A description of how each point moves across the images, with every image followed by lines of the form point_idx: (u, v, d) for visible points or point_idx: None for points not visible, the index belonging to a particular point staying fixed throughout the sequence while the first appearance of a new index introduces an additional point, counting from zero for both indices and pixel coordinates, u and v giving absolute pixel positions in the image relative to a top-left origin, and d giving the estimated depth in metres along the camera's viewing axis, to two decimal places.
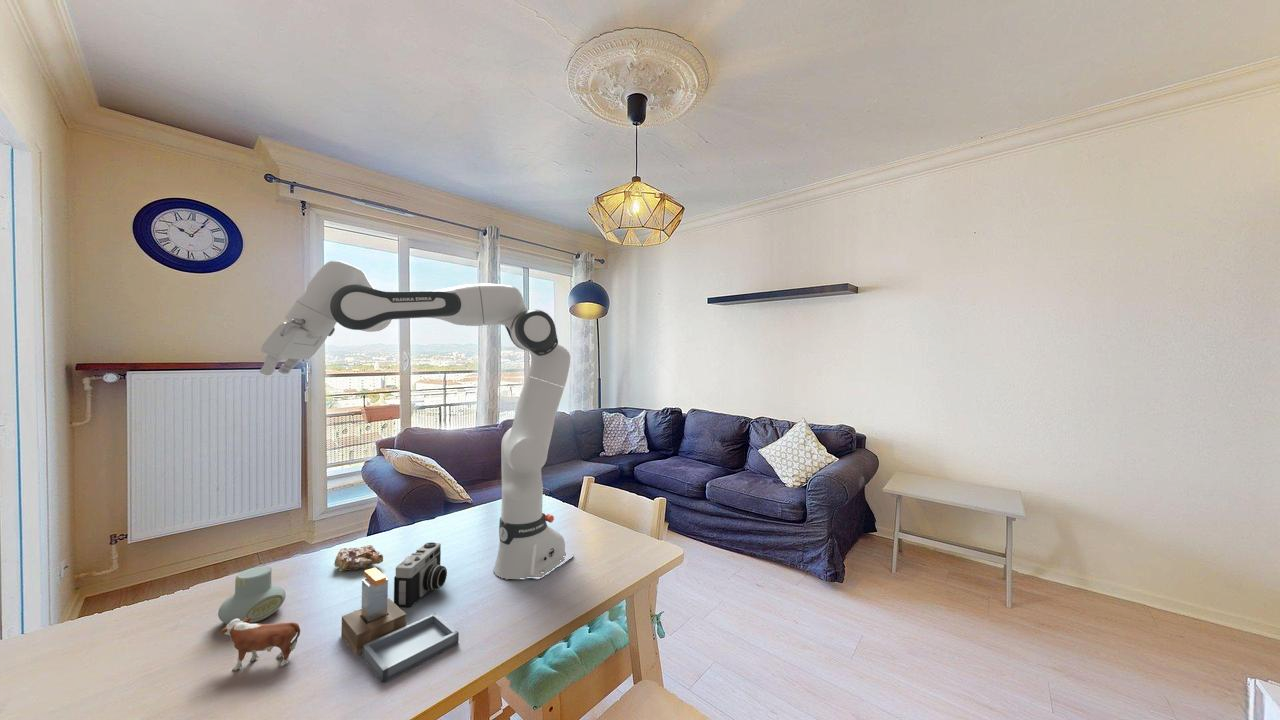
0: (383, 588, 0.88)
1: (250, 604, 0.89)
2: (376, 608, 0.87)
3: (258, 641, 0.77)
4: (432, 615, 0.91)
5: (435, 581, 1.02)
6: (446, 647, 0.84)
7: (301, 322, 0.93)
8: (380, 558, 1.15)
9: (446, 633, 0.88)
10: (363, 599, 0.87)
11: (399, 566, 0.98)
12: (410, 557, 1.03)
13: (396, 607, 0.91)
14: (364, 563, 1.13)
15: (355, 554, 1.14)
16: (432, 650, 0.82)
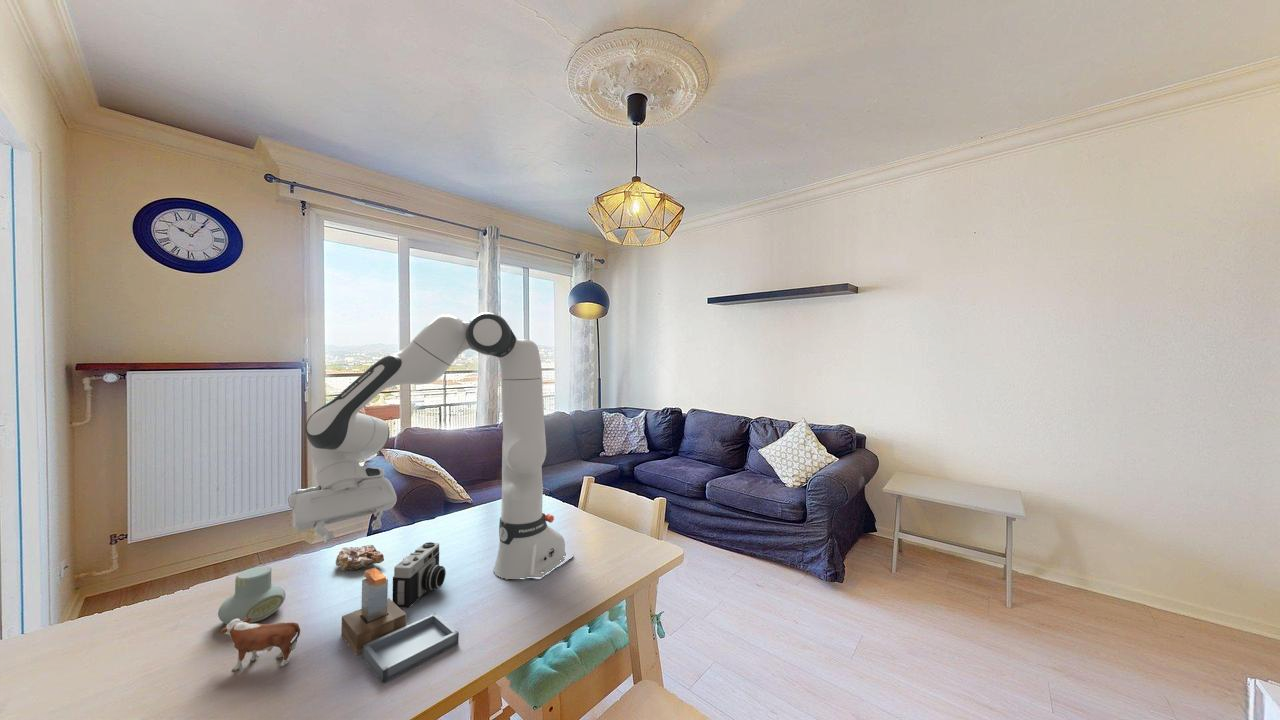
0: (383, 588, 0.88)
1: (250, 604, 0.89)
2: (376, 608, 0.87)
3: (258, 641, 0.77)
4: (432, 615, 0.91)
5: (434, 581, 1.02)
6: (446, 647, 0.84)
7: (311, 488, 0.97)
8: (381, 558, 1.15)
9: (446, 633, 0.88)
10: (363, 599, 0.87)
11: (398, 566, 0.98)
12: (409, 557, 1.03)
13: (396, 607, 0.91)
14: (365, 562, 1.13)
15: (356, 553, 1.14)
16: (432, 650, 0.82)
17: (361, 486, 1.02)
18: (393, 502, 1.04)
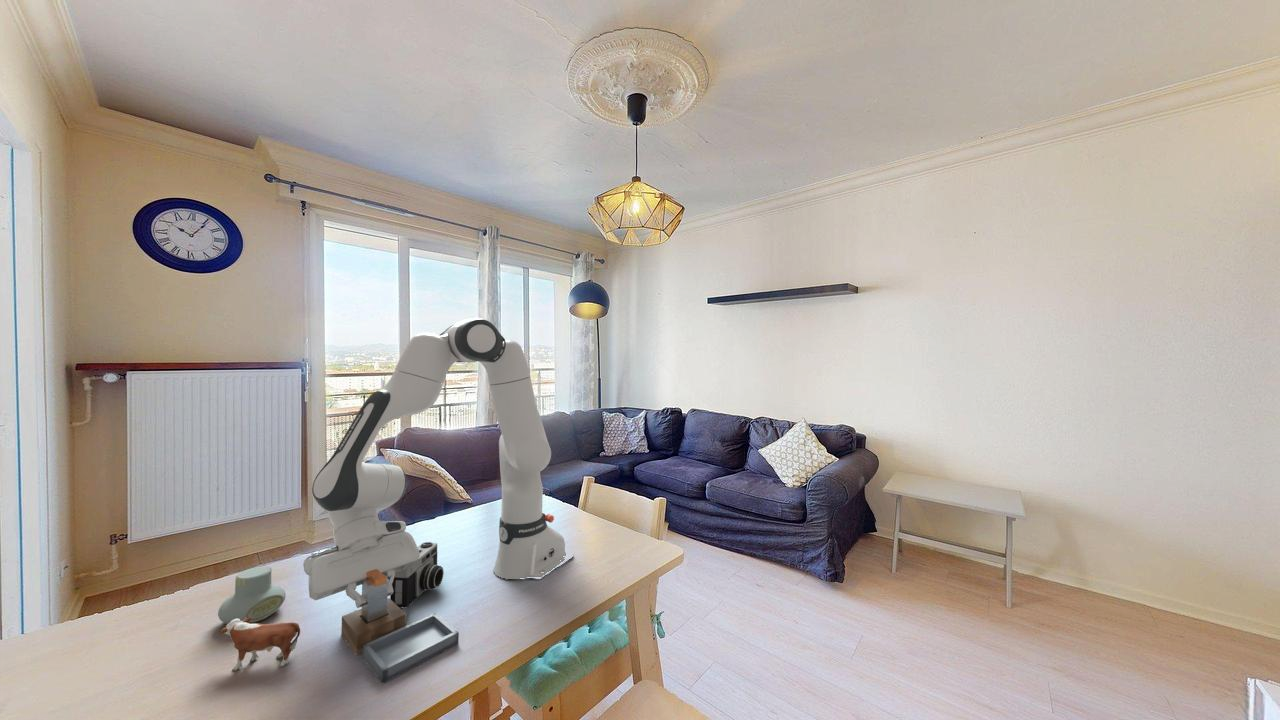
0: (383, 588, 0.88)
1: (250, 604, 0.89)
2: (376, 608, 0.87)
3: (258, 641, 0.77)
4: (432, 615, 0.91)
5: (431, 581, 1.02)
6: (446, 647, 0.84)
7: (328, 550, 0.89)
8: None
9: (446, 633, 0.88)
10: None
11: None
12: None
13: (396, 607, 0.91)
14: None
15: None
16: (432, 650, 0.82)
17: (381, 543, 0.94)
18: (416, 559, 0.96)
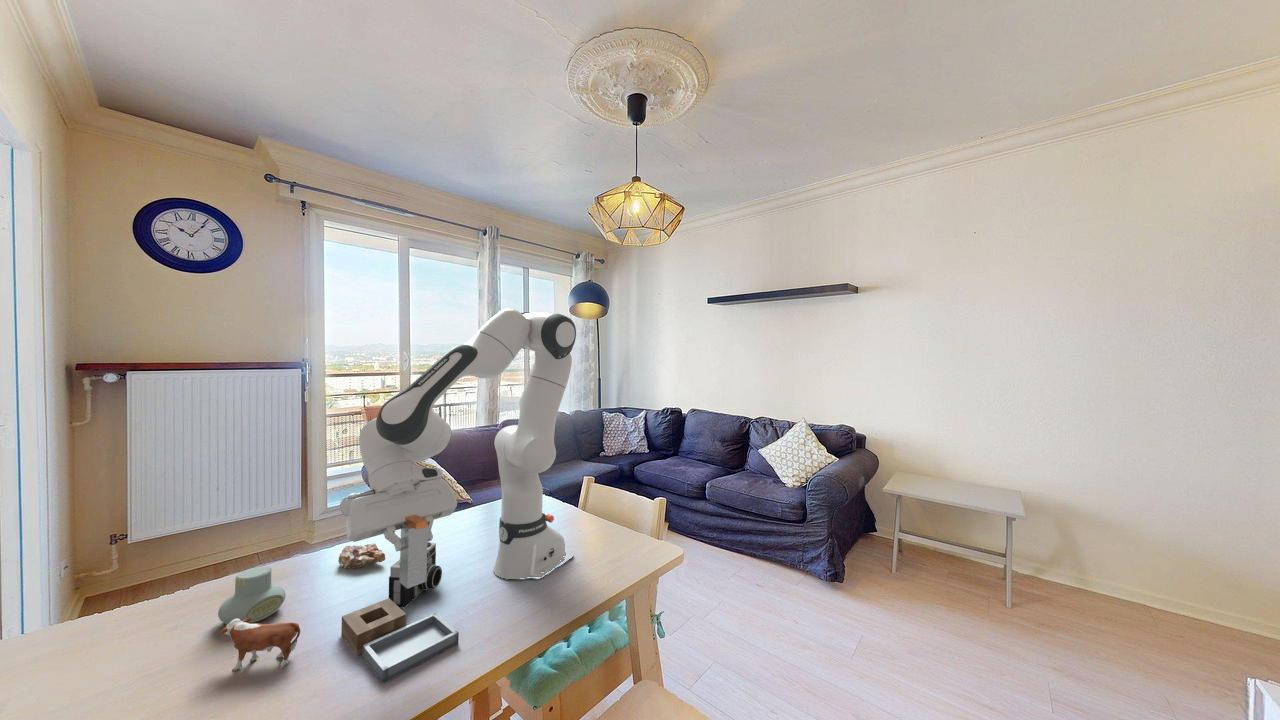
0: (423, 533, 0.83)
1: (250, 604, 0.89)
2: (416, 553, 0.82)
3: (258, 641, 0.77)
4: (432, 615, 0.91)
5: (430, 581, 1.02)
6: (446, 647, 0.84)
7: (364, 492, 0.84)
8: (382, 557, 1.16)
9: (446, 633, 0.88)
10: None
11: (394, 566, 0.99)
12: None
13: (396, 607, 0.91)
14: (366, 561, 1.14)
15: (358, 552, 1.15)
16: (432, 650, 0.82)
17: (418, 489, 0.90)
18: (454, 507, 0.92)
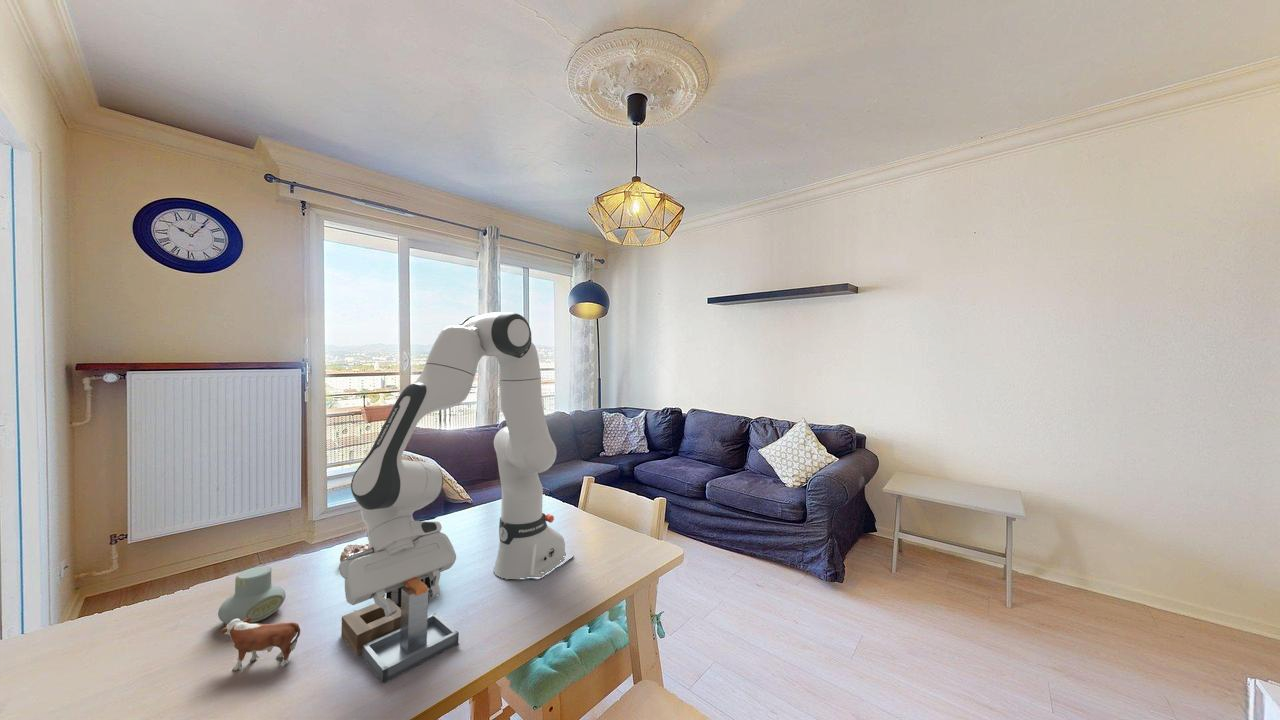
0: (423, 597, 0.84)
1: (250, 604, 0.89)
2: (416, 619, 0.83)
3: (258, 641, 0.77)
4: (432, 615, 0.91)
5: (428, 580, 1.02)
6: (446, 647, 0.84)
7: (363, 552, 0.84)
8: None
9: (446, 633, 0.88)
10: (403, 609, 0.83)
11: None
12: None
13: (396, 607, 0.91)
14: None
15: (359, 551, 1.16)
16: (432, 650, 0.82)
17: (417, 545, 0.90)
18: (453, 561, 0.92)
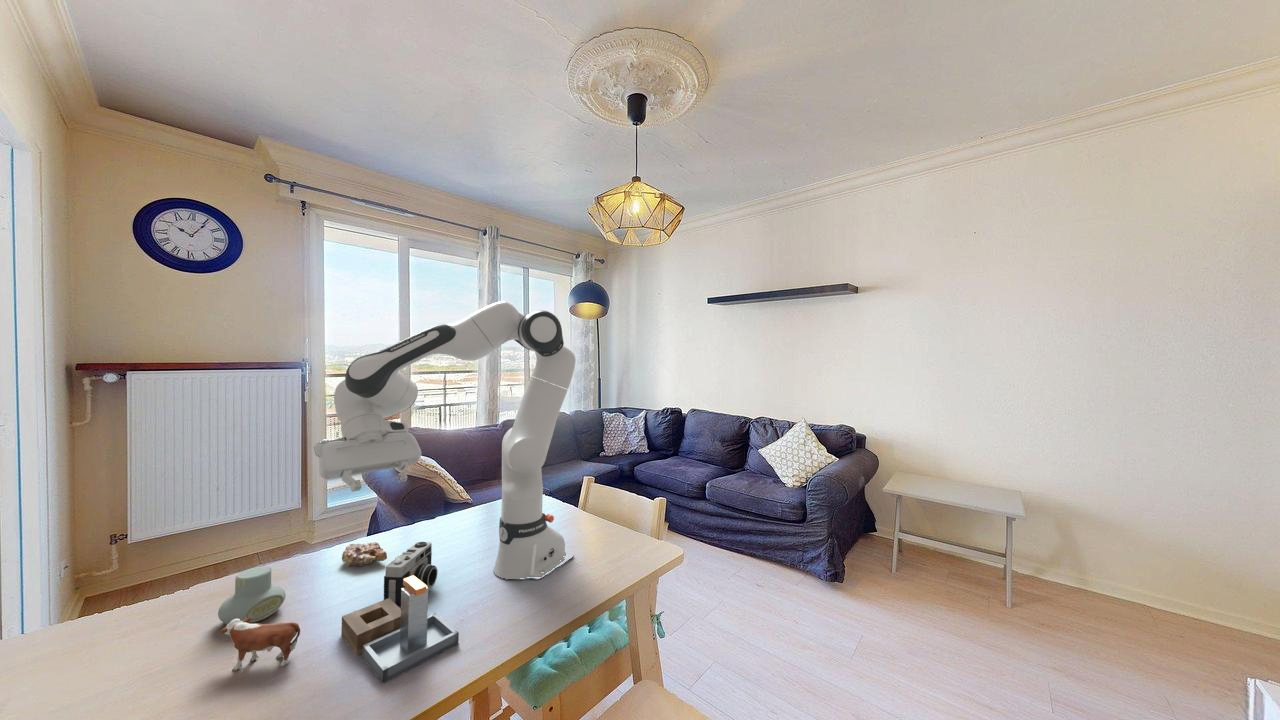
0: (423, 597, 0.83)
1: (250, 604, 0.89)
2: (416, 619, 0.83)
3: (258, 641, 0.77)
4: (432, 615, 0.91)
5: (425, 580, 1.02)
6: (446, 647, 0.84)
7: (336, 439, 0.95)
8: (384, 555, 1.16)
9: (446, 633, 0.88)
10: (403, 609, 0.83)
11: (389, 565, 0.99)
12: (400, 556, 1.03)
13: (396, 607, 0.91)
14: (368, 560, 1.15)
15: (360, 550, 1.16)
16: (432, 650, 0.82)
17: (386, 439, 1.01)
18: (418, 456, 1.03)
